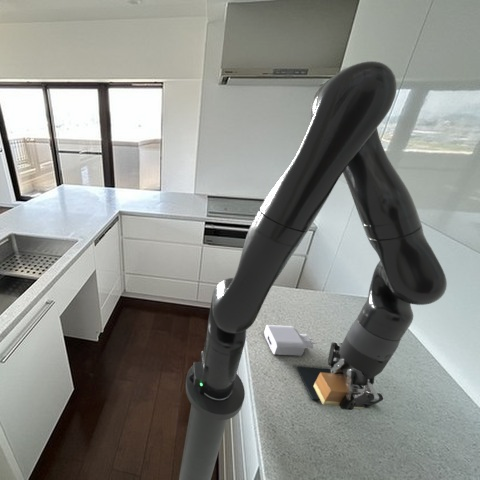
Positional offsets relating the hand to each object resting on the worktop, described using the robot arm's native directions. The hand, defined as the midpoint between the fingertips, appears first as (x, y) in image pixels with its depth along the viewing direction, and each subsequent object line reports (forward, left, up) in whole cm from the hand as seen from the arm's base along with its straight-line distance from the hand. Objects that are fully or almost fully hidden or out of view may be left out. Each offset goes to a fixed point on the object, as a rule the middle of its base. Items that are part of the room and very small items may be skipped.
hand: (337, 396), depth 59 cm
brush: (0, 0, 0) cm, 0 cm away
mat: (+8, +11, -10) cm, 17 cm away
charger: (+2, +24, -11) cm, 26 cm away
